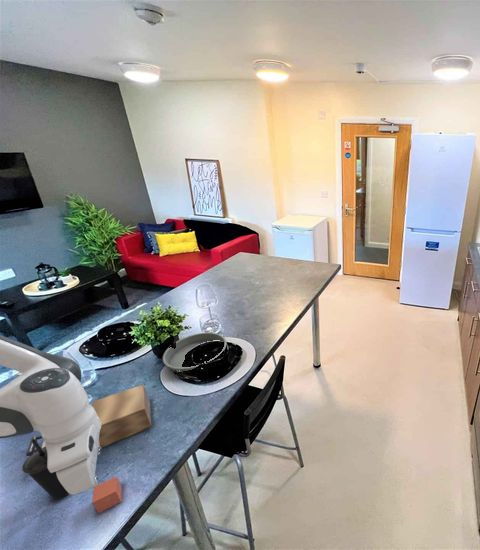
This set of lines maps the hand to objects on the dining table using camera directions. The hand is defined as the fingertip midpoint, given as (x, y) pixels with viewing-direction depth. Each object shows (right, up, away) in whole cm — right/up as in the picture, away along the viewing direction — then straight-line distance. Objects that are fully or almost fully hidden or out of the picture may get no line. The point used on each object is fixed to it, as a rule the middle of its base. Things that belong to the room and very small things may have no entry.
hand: (95, 468), depth 72 cm
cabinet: (-14, -2, +25) cm, 29 cm away
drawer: (-24, -4, +18) cm, 30 cm away
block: (-1, -12, +5) cm, 13 cm away
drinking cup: (-15, -10, +7) cm, 19 cm away
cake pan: (-8, +12, +57) cm, 58 cm away
